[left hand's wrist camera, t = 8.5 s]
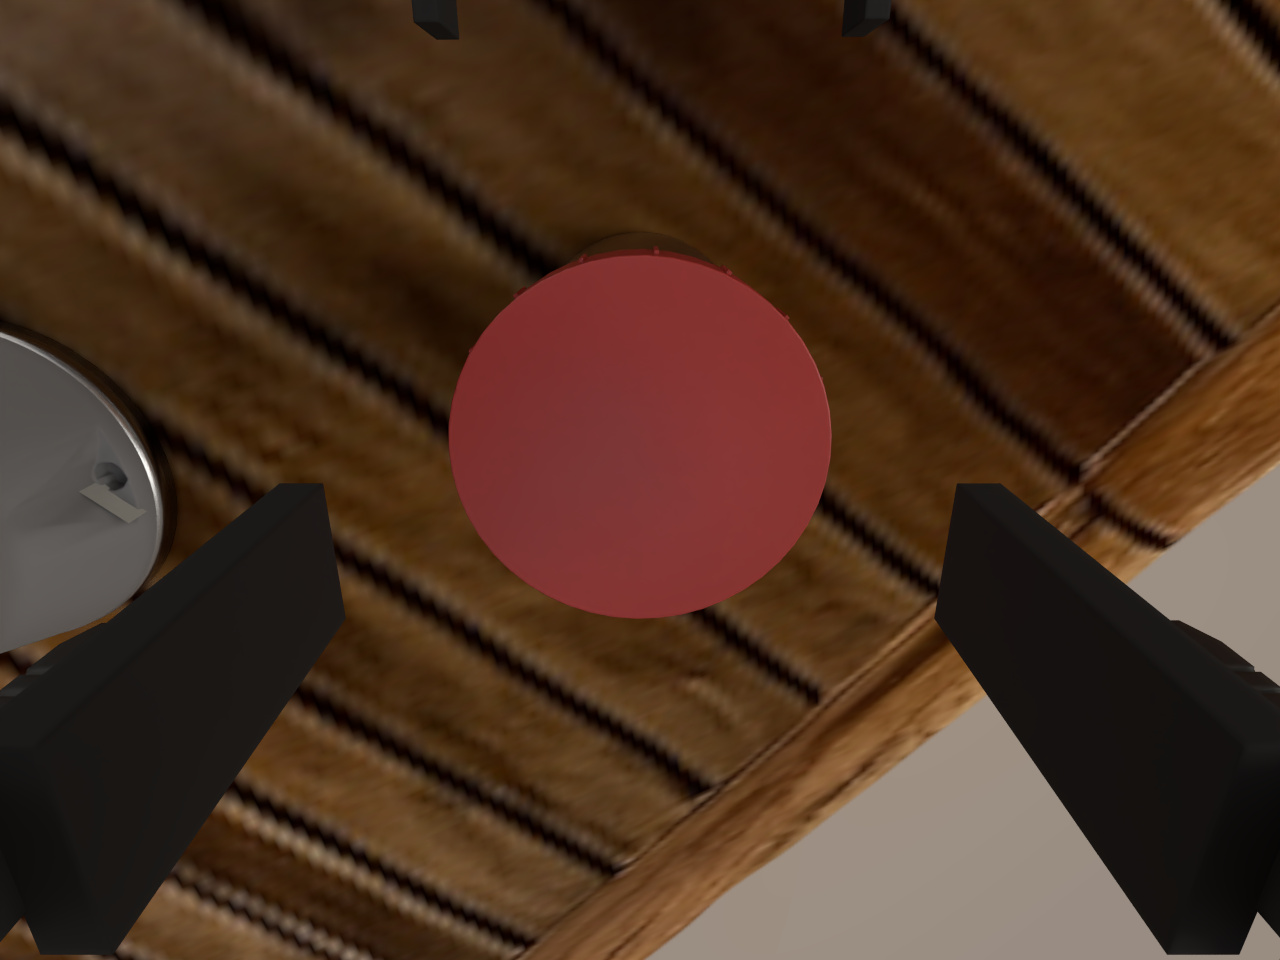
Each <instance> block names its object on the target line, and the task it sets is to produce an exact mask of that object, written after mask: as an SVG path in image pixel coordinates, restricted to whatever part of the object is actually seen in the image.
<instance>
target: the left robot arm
mask: <svg viewBox="0 0 1280 960" xmlns="http://www.w3.org/2000/svg"><path fill="white" fill-rule="evenodd" d="M176 523H177V497H176V490H175V484H174V480H173V476H172V472H171V469H170V466H169V463H168V460H167V458H166V455H165V453H164V451H163V448H162V446H161V444H160V442H159V440H158V438H157V436H156V435H155V433H154V431H153V430H152V428H151V426H150V425H149V423H148V422H147V420H146V419H145V417H144V416H143V414H142V413H141V412H140V410H139V409H138V408H137V407H136V405H135V404H134V403H133V402H132V401H131V399H130V398H129V397H128V396H127V395H126V394H125V393H124V392H123V391H122V390H121V389H120V388H119V387H118V386H117V384H115V383H114V382H113V381H112V380H111V379H110V378H109V377H108V376H107V375H105V374H104V373H103V372H102V371H101V370H99V369H98V368H97V367H95V366H94V365H93V364H92V363H90V362H89V361H88V360H86V359H85V358H83V357H82V356H80V355H78V354H77V353H75V352H74V351H72V350H71V349H69V348H67V347H65V346H63V345H62V344H60V343H58V342H56V341H54V340H52V339H50V338H48V337H45V336H43V335H41V334H39V333H36V332H33V331H31V330H28V329H25V328H22V327H19V326H15V325H12V324H8V323H4V322H0V653H3V652H6V651H9V650H13V649H16V648H19V647H22V646H25V645H28V644H31V643H34V642H37V641H40V640H43V639H45V638H48V637H51V636H54V635H57V634H60V633H63V632H67V631H70V630H73V629H76V628H79V627H82V626H84V625H87V624H89V623H91V622H93V621H95V620H97V619H100V618H102V617H104V616H105V615H107V614H109V613H111V612H112V611H114V610H115V609H117V608H118V607H119V606H121V605H122V604H123V603H125V602H126V601H127V600H128V599H130V598H131V597H132V596H134V595H135V594H136V593H137V592H139V591H140V590H141V589H142V588H143V587H144V586H145V585H147V584H148V583H149V582H150V581H151V580H152V578H153V577H154V576H155V575H156V574H157V572H158V571H159V570H160V568H161V566H162V565H163V563H164V562H165V560H166V558H167V555H168V553H169V551H170V549H171V546H172V542H173V539H174V535H175V530H176ZM345 619H346V618H345V612H344V606H343V600H342V594H341V588H340V582H339V576H338V570H337V564H336V558H335V552H334V546H333V540H332V534H331V528H330V522H329V516H328V510H327V504H326V499H325V493H324V487H323V484H278V485H277V486H276V487H275V488H274V489H272V490H271V491H270V492H269V493H267V494H266V495H265V496H264V497H262V498H261V499H260V500H259V501H257V502H256V503H255V504H254V505H252V506H251V507H250V508H249V509H247V510H246V511H245V512H244V513H242V514H241V515H240V516H239V517H238V518H236V519H235V520H234V521H233V522H231V523H230V524H229V525H228V526H226V527H225V528H224V529H223V530H221V531H220V532H219V533H218V534H216V535H215V536H214V537H213V538H211V539H210V540H209V541H208V542H206V543H205V544H204V545H203V546H202V547H200V548H199V549H198V550H197V551H195V552H194V553H193V554H192V555H190V556H189V557H188V558H187V559H185V560H184V561H183V562H182V563H180V564H179V565H178V566H177V567H175V568H174V569H173V570H172V571H171V572H169V573H168V574H167V575H166V576H164V577H163V578H162V579H161V580H159V581H158V582H157V583H156V584H154V585H153V586H152V587H151V588H149V589H148V590H147V591H146V592H144V593H143V594H142V595H141V596H139V597H138V598H137V599H136V600H135V601H133V602H132V603H131V604H130V605H128V606H127V607H126V608H125V609H123V610H122V611H121V612H120V613H118V614H117V615H116V616H115V617H113V618H112V619H111V620H110V621H108V622H107V623H101V624H99V625H97V626H95V627H93V628H91V629H89V630H87V631H85V632H83V633H81V634H79V635H77V636H75V637H73V638H71V639H69V640H67V641H65V642H63V643H61V644H59V645H58V646H57V647H55V648H54V649H53V650H51V651H50V652H49V653H48V654H46V655H45V656H44V657H42V658H41V659H40V660H39V661H37V662H36V663H35V664H33V665H32V666H31V667H30V668H28V669H27V673H26V675H19V676H18V677H17V678H15V679H14V680H13V681H11V682H10V683H9V684H8V685H6V686H5V687H4V688H2V689H1V690H0V942H1V940H2V939H3V938H4V937H5V936H6V935H7V933H8V932H9V931H10V930H11V929H12V928H13V926H14V925H15V924H16V923H17V922H18V920H19V919H20V918H21V917H22V916H23V915H24V916H25V919H26V921H27V923H28V926H29V928H30V930H31V933H32V935H33V937H34V940H35V942H36V945H37V947H38V949H39V952H40V954H41V955H113V954H114V952H115V951H116V949H117V948H118V946H119V945H120V944H121V942H122V941H123V939H124V938H125V936H126V935H127V933H128V932H129V931H130V929H131V928H132V926H133V925H134V923H135V922H136V920H137V919H138V918H139V916H140V915H141V913H142V912H143V910H144V909H145V907H146V906H147V905H148V903H149V902H150V900H151V899H152V897H153V896H154V894H155V893H156V892H157V890H158V889H159V887H160V886H161V884H162V883H163V881H164V880H165V879H166V877H167V876H168V874H169V873H170V871H171V870H172V868H173V867H174V866H175V864H176V863H177V861H178V860H179V858H180V857H181V855H182V854H183V853H184V851H185V850H186V848H187V847H188V845H189V844H190V842H191V841H192V840H193V838H194V837H195V835H196V834H197V832H198V831H199V829H200V828H201V827H202V825H203V824H204V822H205V821H206V819H207V818H208V816H209V815H210V814H211V812H212V811H213V809H214V808H215V806H216V805H217V803H218V802H219V801H220V799H221V798H222V796H223V795H224V793H225V792H226V790H227V789H228V788H229V786H230V785H231V783H232V782H233V780H234V779H235V777H236V776H237V775H238V773H239V772H240V770H241V769H242V767H243V766H244V764H245V763H246V762H247V760H248V759H249V757H250V756H251V754H252V753H253V751H254V750H255V749H256V747H257V746H258V744H259V743H260V741H261V740H262V738H263V737H264V736H265V734H266V733H267V731H268V730H269V728H270V727H271V725H272V724H273V723H274V721H275V720H276V718H277V717H278V715H279V714H280V712H281V711H282V710H283V708H284V707H285V705H286V704H287V702H288V701H289V699H290V698H291V697H292V695H293V694H294V692H295V691H296V689H297V688H298V686H299V685H300V684H301V682H302V681H303V679H304V678H305V676H306V675H307V673H308V672H309V671H310V669H311V668H312V666H313V665H314V663H315V662H316V660H317V659H318V658H319V656H320V655H321V653H322V652H323V650H324V649H325V647H326V646H327V645H328V643H329V642H330V640H331V639H332V637H333V636H334V634H335V633H336V632H337V630H338V629H339V627H340V626H341V624H342V623H343V621H344V620H345ZM934 619H935V620H936V621H937V623H938V624H939V626H940V627H941V629H942V630H943V632H944V633H945V634H946V636H947V637H948V639H949V640H950V642H951V643H952V645H953V646H954V647H955V649H956V650H957V652H958V653H959V655H960V656H961V658H962V659H963V660H964V662H965V663H966V665H967V666H968V668H969V669H970V671H971V672H972V673H973V675H974V676H975V678H976V679H977V681H978V682H979V684H980V685H981V686H982V688H983V689H984V691H985V692H986V694H987V695H988V697H989V698H990V699H991V701H992V702H993V704H994V705H995V707H996V708H997V710H998V711H999V712H1000V714H1001V715H1002V717H1003V718H1004V720H1005V721H1006V723H1007V724H1008V725H1009V727H1010V728H1011V730H1012V731H1013V733H1014V734H1015V736H1016V737H1017V738H1018V740H1019V741H1020V743H1021V744H1022V746H1023V747H1024V749H1025V750H1026V751H1027V753H1028V754H1029V756H1030V757H1031V759H1032V760H1033V761H1034V763H1035V764H1036V766H1037V767H1038V769H1039V770H1040V772H1041V773H1042V775H1043V776H1044V777H1045V779H1046V780H1047V782H1048V783H1049V785H1050V786H1051V788H1052V789H1053V790H1054V792H1055V793H1056V795H1057V796H1058V798H1059V799H1060V800H1061V802H1062V803H1063V805H1064V806H1065V808H1066V809H1067V811H1068V812H1069V814H1070V815H1071V816H1072V818H1073V819H1074V821H1075V822H1076V824H1077V825H1078V827H1079V828H1080V829H1081V831H1082V832H1083V834H1084V835H1085V837H1086V838H1087V840H1088V841H1089V842H1090V844H1091V845H1092V847H1093V848H1094V850H1095V851H1096V852H1097V854H1098V855H1099V857H1100V858H1101V860H1102V861H1103V863H1104V864H1105V866H1106V867H1107V868H1108V870H1109V871H1110V873H1111V874H1112V876H1113V877H1114V879H1115V880H1116V881H1117V883H1118V884H1119V886H1120V887H1121V889H1122V890H1123V892H1124V893H1125V894H1126V896H1127V897H1128V899H1129V900H1130V902H1131V903H1132V904H1133V906H1134V907H1135V909H1136V910H1137V912H1138V913H1139V915H1140V916H1141V918H1142V919H1143V920H1144V922H1145V923H1146V925H1147V926H1148V928H1149V929H1150V931H1151V932H1152V933H1153V935H1154V936H1155V938H1156V939H1157V941H1158V942H1159V944H1160V945H1161V946H1162V948H1163V949H1164V951H1165V952H1166V954H1167V955H1239V954H1240V951H1241V949H1242V947H1243V945H1244V942H1245V940H1246V937H1247V935H1248V933H1249V930H1250V928H1251V926H1252V923H1253V921H1254V919H1255V916H1256V914H1257V912H1258V913H1259V914H1260V915H1261V916H1262V917H1263V918H1264V920H1265V921H1266V922H1267V923H1268V924H1269V925H1270V927H1271V928H1272V929H1273V930H1274V931H1275V932H1276V934H1277V935H1278V936H1279V937H1280V686H1278V685H1277V684H1276V683H1275V682H1273V681H1272V680H1271V679H1269V678H1268V677H1267V676H1265V675H1264V674H1263V673H1262V672H1255V670H1254V666H1252V665H1251V664H1250V663H1248V662H1247V661H1246V660H1245V659H1243V658H1242V657H1241V656H1239V655H1238V654H1237V653H1236V652H1234V651H1233V650H1232V649H1230V648H1229V647H1228V646H1227V645H1225V644H1224V643H1223V642H1221V641H1219V640H1217V639H1215V638H1213V637H1211V636H1209V635H1207V634H1205V633H1203V632H1201V631H1199V630H1197V629H1195V628H1193V627H1191V626H1189V625H1187V624H1185V623H1183V622H1181V621H1179V620H1169V619H1168V618H1167V617H1165V616H1164V615H1163V614H1162V613H1160V612H1159V611H1158V610H1157V609H1155V608H1154V607H1153V606H1152V605H1150V604H1149V603H1148V602H1147V601H1145V600H1144V599H1143V598H1142V597H1140V596H1139V595H1138V594H1137V593H1136V592H1134V591H1133V590H1132V589H1131V588H1129V587H1128V586H1127V585H1126V584H1124V583H1123V582H1122V581H1121V580H1119V579H1118V578H1117V577H1116V576H1114V575H1113V574H1112V573H1111V572H1109V571H1108V570H1107V569H1106V568H1105V567H1103V566H1102V565H1101V564H1100V563H1098V562H1097V561H1096V560H1095V559H1093V558H1092V557H1091V556H1090V555H1088V554H1087V553H1086V552H1085V551H1083V550H1082V549H1081V548H1080V547H1078V546H1077V545H1076V544H1075V543H1074V542H1072V541H1071V540H1070V539H1069V538H1067V537H1066V536H1065V535H1064V534H1062V533H1061V532H1060V531H1059V530H1057V529H1056V528H1055V527H1054V526H1052V525H1051V524H1050V523H1049V522H1047V521H1046V520H1045V519H1044V518H1042V517H1041V516H1040V515H1039V514H1038V513H1036V512H1035V511H1034V510H1033V509H1031V508H1030V507H1029V506H1028V505H1026V504H1025V503H1024V502H1023V501H1021V500H1020V499H1019V498H1018V497H1016V496H1015V495H1014V494H1013V493H1011V492H1010V491H1009V490H1008V489H1006V488H1005V487H1004V486H1003V485H1002V484H957V487H956V493H955V498H954V504H953V510H952V516H951V522H950V528H949V534H948V540H947V546H946V552H945V558H944V564H943V570H942V576H941V582H940V588H939V594H938V600H937V606H936V612H935V618H934Z"/></svg>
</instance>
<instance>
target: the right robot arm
mask: <svg viewBox="0 0 1280 960" xmlns="http://www.w3.org/2000/svg"><path fill="white" fill-rule="evenodd" d="M412 8H413V18H414V23H416V24H417V25H418V26H420V27H421V28H422V29H424V30H425V31H426V32H428V33H429V34H430V35H431V36H433V37H434V38H435V39H437V40H450V39H459V31H458V19H457V7H456V0H412ZM890 8H891V0H845V2H844V15H843V27H842V37H861V36H865V35H867V34H868V33H870V32H871V31H873V30H874V29H875V28H877V27H878V26H880V25H881V24H883V23H884V22H885V21H887V20H888V19H889V18H890Z"/></svg>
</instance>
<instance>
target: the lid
mask: <svg viewBox="0 0 1280 960" xmlns="http://www.w3.org/2000/svg"><path fill="white" fill-rule="evenodd" d="M731 273H732V272H731V271H730V270H729V269H728V268H727V267H725V266H724V265H722V266H721V268H720V267H718V266H716V265H713V264H711V263H708V262H705V261H703V260H700V259H698V258H695V257H692V256H687V255H683V254H679V253H675V252H671V251H661V250H659V249H658V246H653V250H651V249H631V250H617V251H612V252H606V253H600V254H595V255H592V256H589V257H588V256H587V254H583V255H582V256H581V257H580V258H579V259H578V260H577V261H574V262H571V263H569V264H567V265H565V266H563V267H561V268H559V269H557V270H555V271H553V272H551V273H549V274H547V275H546V276H544V277H543V278H541V279H540V280H538V281H537V282H535V283H534V284H532V285H531V286H530V287H528V288H527V289H526V287H525V286H524V287H523V288H522V289H520V290H519V291H518V292H517V293H516V294H514V295H513V297H514V298H515V299H514V300H513V301H512V302H511V303H510V304H509V305H508V306H507V307H505V308H504V309H503V310H502V311H501V312H500V313H499V314H498V315H497V316H496V317H495V319H494V320H493V321H492V322H491V323H490V325H489V326H488V327H487V328H486V329H485V331H484V332H483V333H482V334H481V336H480V338H479V339H478V341H477V342H476V344H475V345H474V346H473V347H472V348H470V350H469V353H470V354H469V355H468V358H467V360H466V362H465V364H464V367H463V369H462V371H461V373H460V376H459V378H458V382H457V385H456V389H455V392H454V396H453V399H452V405H451V412H450V419H449V454H450V461H451V468H452V474H453V477H454V481H455V484H456V488H457V491H458V495H459V497H460V500H461V502H462V504H463V507H464V509H465V511H466V513H467V516H468V518H469V519H470V521H471V523H472V524H473V526H474V528H475V529H476V531H477V533H478V534H479V536H480V537H481V539H482V540H483V541H484V542H485V544H486V545H487V546H488V547H489V549H490V550H491V551H492V553H493V554H494V555H495V556H496V557H497V558H498V559H499V560H500V561H501V562H502V563H503V564H504V565H505V566H506V567H507V568H508V569H509V570H510V571H511V572H513V573H514V574H515V575H517V576H518V577H519V578H521V579H522V580H523V581H524V582H526V583H527V584H528V585H530V586H532V587H533V588H535V589H537V590H538V591H540V592H542V593H543V594H545V595H547V596H549V597H551V598H553V599H555V600H557V601H560V602H562V603H564V604H566V605H569V606H572V607H575V608H578V609H581V610H584V611H587V612H591V613H596V614H601V615H606V616H611V617H622V618H634V619H638V618H660V617H667V616H674V615H681V614H684V613H688V612H692V611H696V610H699V609H703V608H706V607H708V606H711V605H713V604H716V603H718V602H721V601H723V600H725V599H727V598H729V597H731V596H733V595H735V594H737V593H738V592H740V591H742V590H744V589H745V588H747V587H748V586H750V585H751V584H753V583H754V582H755V581H757V580H758V579H760V578H761V577H763V576H764V575H765V574H766V573H767V572H768V571H769V570H770V569H772V568H773V567H774V566H775V565H776V564H777V563H778V562H779V561H780V560H781V559H782V558H783V557H784V556H785V555H786V553H787V552H788V551H789V550H790V549H791V548H792V547H793V545H794V544H795V543H796V541H797V540H798V538H799V537H800V535H801V534H802V532H803V531H804V529H805V528H806V526H807V525H808V523H809V521H810V519H811V517H812V515H813V513H814V511H815V509H816V507H817V505H818V503H819V500H820V497H821V494H822V491H823V488H824V485H825V482H826V478H827V473H828V468H829V462H830V455H831V438H832V432H831V420H830V410H829V405H828V401H827V396H826V392H825V387H824V384H823V382H822V381H823V378H822V376H821V375H820V374H819V371H818V369H817V366H816V363H815V362H814V360H813V358H812V356H811V354H810V352H809V351H808V349H807V347H806V345H805V343H804V342H803V340H802V339H801V338H800V336H799V335H798V334H797V332H796V331H795V330H794V328H793V327H792V326H791V324H790V323H789V322H788V319H789V317H788V316H787V315H786V314H785V313H783V312H782V311H781V310H780V309H779V308H777V307H776V308H775V307H774V306H773V305H772V304H771V303H770V302H768V301H767V300H766V299H765V298H764V297H763V296H761V295H760V294H759V293H758V292H756V291H755V290H754V289H752V288H751V287H750V286H748V285H747V284H746V283H745V282H743V281H742V280H741V279H739V278H738V277H736V276H734V275H732V274H731Z"/></svg>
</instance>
